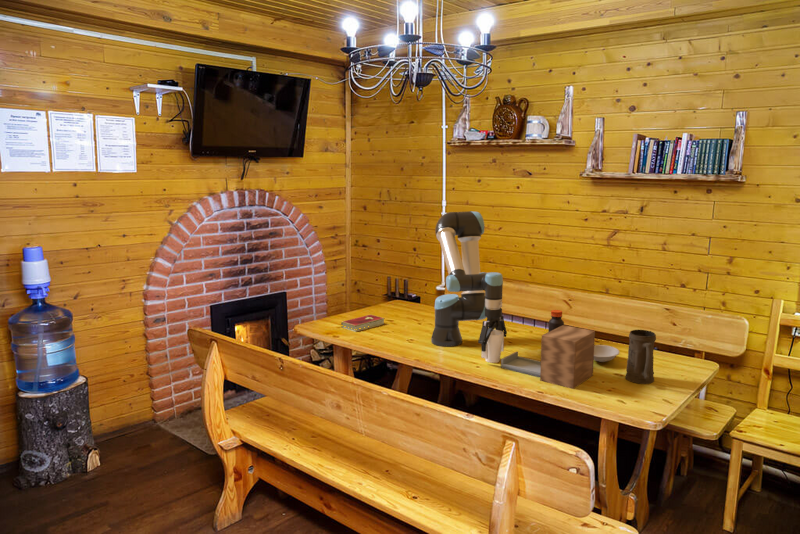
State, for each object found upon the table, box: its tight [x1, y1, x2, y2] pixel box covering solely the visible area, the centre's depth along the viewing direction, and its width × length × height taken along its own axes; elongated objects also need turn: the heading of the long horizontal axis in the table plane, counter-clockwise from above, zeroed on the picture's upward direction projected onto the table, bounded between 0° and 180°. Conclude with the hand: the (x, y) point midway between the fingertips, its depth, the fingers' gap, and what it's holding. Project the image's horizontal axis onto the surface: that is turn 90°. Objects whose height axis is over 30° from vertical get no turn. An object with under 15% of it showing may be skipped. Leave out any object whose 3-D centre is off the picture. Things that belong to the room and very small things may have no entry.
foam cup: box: [484, 329, 505, 364], centre depth 257 cm, size 10×9×13 cm
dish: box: [594, 344, 620, 363], centre depth 255 cm, size 18×14×5 cm
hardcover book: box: [340, 314, 385, 333], centre depth 316 cm, size 12×21×4 cm, turn 134°
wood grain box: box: [539, 324, 596, 390], centre depth 235 cm, size 14×19×19 cm
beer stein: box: [625, 329, 657, 385], centre depth 230 cm, size 15×11×20 cm
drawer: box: [500, 351, 541, 378], centre depth 247 cm, size 20×13×4 cm, turn 49°
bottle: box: [547, 309, 565, 333], centre depth 266 cm, size 7×7×20 cm
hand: (492, 354), depth 258 cm, fingers open, 13 cm apart
